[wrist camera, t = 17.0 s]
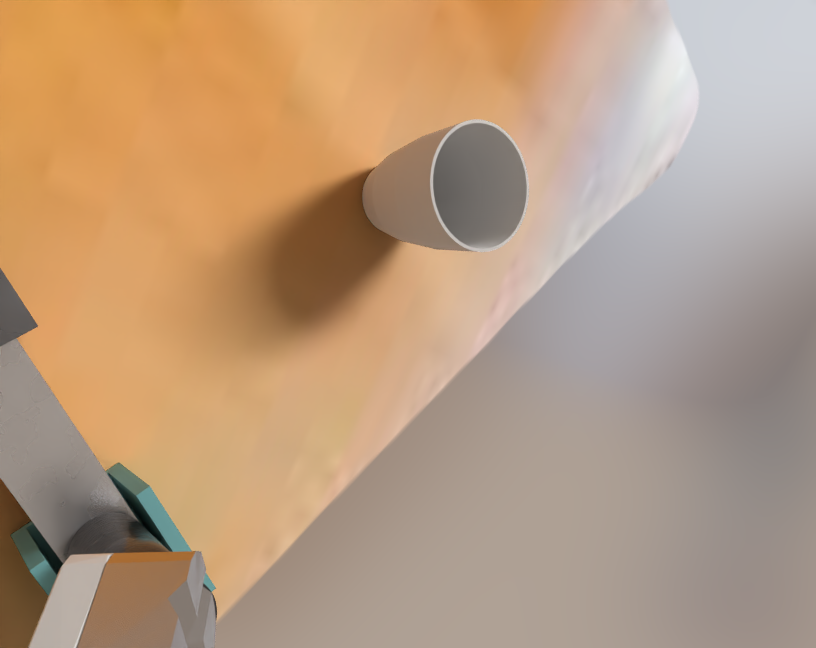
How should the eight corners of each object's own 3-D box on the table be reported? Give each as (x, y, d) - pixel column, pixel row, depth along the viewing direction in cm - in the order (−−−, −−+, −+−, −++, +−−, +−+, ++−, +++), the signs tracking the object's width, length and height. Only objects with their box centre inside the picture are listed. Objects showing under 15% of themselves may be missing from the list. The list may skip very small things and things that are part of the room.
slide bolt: (-89, 355, 37) (-71, 393, 25) (-8, 313, 39) (43, 331, 27) (93, 605, 42) (175, 727, 31) (156, 557, 44) (254, 656, 33)
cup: (451, 213, 57) (546, 203, 49) (382, 277, 54) (472, 278, 46) (399, 121, 54) (492, 94, 46) (322, 183, 51) (408, 166, 43)
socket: (10, 535, 40) (29, 570, 36) (118, 462, 44) (149, 486, 39) (82, 630, 43) (109, 675, 38) (179, 555, 46) (215, 588, 41)
